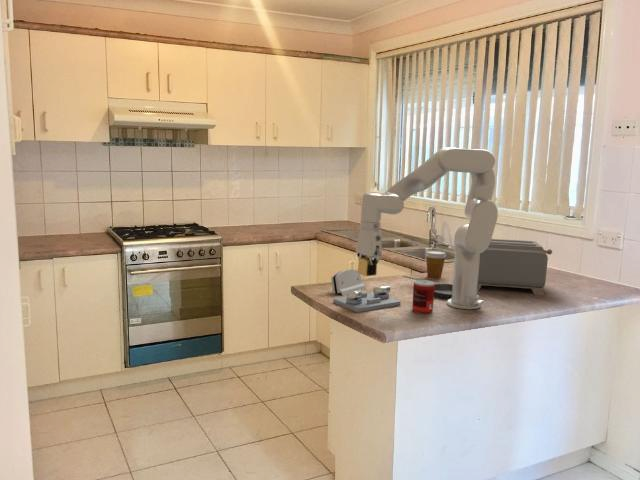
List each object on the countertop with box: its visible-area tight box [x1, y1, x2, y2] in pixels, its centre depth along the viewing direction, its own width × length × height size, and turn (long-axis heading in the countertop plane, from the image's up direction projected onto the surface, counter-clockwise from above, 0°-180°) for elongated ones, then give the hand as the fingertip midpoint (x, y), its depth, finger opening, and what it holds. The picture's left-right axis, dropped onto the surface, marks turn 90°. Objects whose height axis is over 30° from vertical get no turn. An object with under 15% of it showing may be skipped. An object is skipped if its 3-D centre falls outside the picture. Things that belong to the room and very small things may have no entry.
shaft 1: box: [346, 290, 363, 305], centre depth 213 cm, size 6×4×6 cm
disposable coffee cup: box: [425, 250, 447, 280], centre depth 266 cm, size 10×10×12 cm
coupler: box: [357, 256, 378, 277], centre depth 216 cm, size 5×5×7 cm
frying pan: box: [402, 275, 453, 300], centre depth 241 cm, size 18×32×4 cm, turn 46°
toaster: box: [477, 238, 553, 296], centre depth 251 cm, size 19×35×20 cm, turn 80°
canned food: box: [411, 279, 436, 315], centre depth 211 cm, size 8×8×11 cm
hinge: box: [330, 268, 367, 297], centre depth 236 cm, size 17×5×10 cm, turn 139°
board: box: [332, 292, 402, 313], centre depth 218 cm, size 21×15×3 cm
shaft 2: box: [372, 285, 391, 300], centre depth 222 cm, size 6×4×6 cm
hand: (367, 272), depth 216 cm, fingers closed on coupler, 5 cm apart
